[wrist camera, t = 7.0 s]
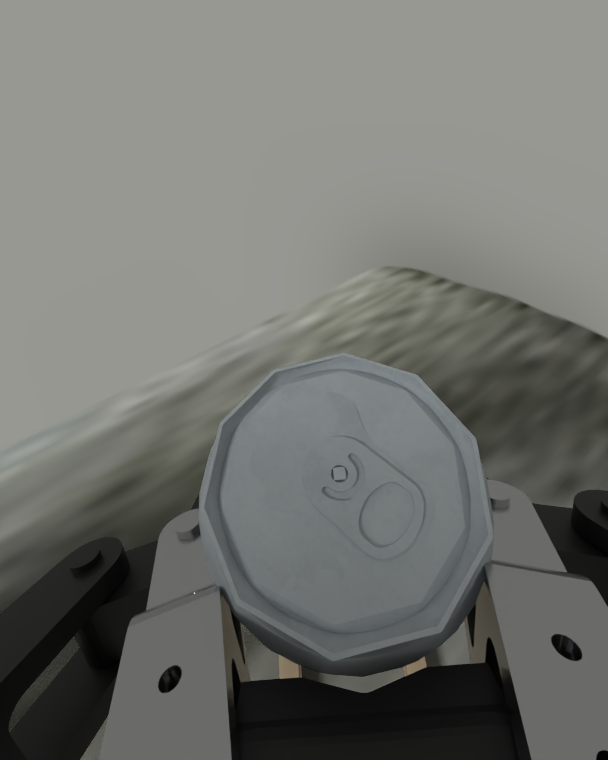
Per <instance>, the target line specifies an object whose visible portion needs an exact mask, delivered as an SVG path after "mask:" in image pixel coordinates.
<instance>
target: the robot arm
mask: <svg viewBox="0 0 608 760" xmlns="http://www.w3.org/2000/svg"><path fill="white" fill-rule="evenodd" d="M487 483H488V489H489V494H490V500H491V506H492V512H493V519H494V544H493V553H492V558H491V562H488V563H485V564H484V582H483V585H482V587H481V590H480V593H479V595H478V598H477V601H476V603H475V605H474V607H473V608H472V610H471V611H470V612H469V614H468V615H467V617H466V618H465V619H464V621H465V628H466V635H467V642H468V649H469V656H470V664H462V665H449V666H436V667H425V668H423V669H421V670H418V671H416V672H414V673H412V674H410V675H407V676H405V677H403V678H401V679H398V680H396V681H394V682H392V683H390V684H387V685H385V686H383V687H381V688H378V689H376V690H374V691H372V692H369V693H359V692H355V691H351V690H347V689H343V688H339V687H336V686H332V685H328V684H324V683H320V682H316V681H313V680H309V679H305V678H301V677H297V678H284V679H272V680H259V681H250V677H249V670H248V662H247V655H246V647H245V640H244V632H243V625H242V623H241V622H240V621H239V620H238V619H237V618H236V617H235V615H234V614H233V612H232V610H231V609H230V607H229V605H228V604H227V602H226V600H225V599H224V597H223V595H222V593H221V591H220V586H217V585H216V584H215V582H214V580H213V578H212V576H211V573H210V569H209V566H208V562H207V559H206V555H205V551H204V547H203V542H202V538H201V533H200V526H199V495H198V497H197V499H196V501H195V503H194V505H193V507H192V509H191V510H190V511H187V512H184V513H182V514H180V515H179V516H177V517H175V518H174V519H173V520H171V521H170V522H169V523H168V524H167V525H166V526H165V527H164V528H163V530H162V531H161V533H160V535H159V539H158V541H155V542H153V543H150V544H147V545H144V546H141V547H138V548H135V549H132V550H129V551H126V552H125V551H124V548H123V545H122V543H121V541H120V540H119V539H117V538H111V537H108V538H102V539H98V540H95V541H92V542H90V543H87V544H85V545H83V546H81V547H80V548H78V549H76V550H75V551H73V552H72V553H71V554H69V555H68V556H67V557H65V558H64V559H63V560H62V561H61V562H60V563H58V564H57V565H56V566H55V567H54V568H53V569H52V570H50V571H49V572H48V573H47V574H46V575H45V576H44V577H42V578H41V579H40V580H39V581H38V582H37V583H35V584H34V585H33V586H32V587H31V588H30V589H29V590H27V591H26V592H25V593H24V594H23V595H22V596H21V597H19V598H18V599H17V600H16V601H15V602H14V603H12V604H11V605H10V606H9V607H8V608H7V609H6V610H4V611H3V612H2V613H1V614H0V760H80V759H81V757H82V756H83V754H84V752H85V751H86V749H87V748H88V746H89V744H90V743H91V741H92V740H93V738H94V737H95V735H96V733H97V732H98V730H99V729H100V727H101V726H102V724H103V722H104V721H105V719H106V718H107V716H108V719H107V724H106V728H105V733H104V737H103V742H102V746H101V751H100V755H99V760H608V491H603V490H586V491H582V492H580V493H578V494H577V495H576V496H575V498H574V503H573V508H565V507H556V506H548V505H540V504H533V503H531V501H530V500H529V498H528V497H527V496H526V495H525V494H524V493H523V492H521V491H520V490H518V489H517V488H515V487H513V486H511V485H509V484H506V483H503V482H500V481H495V480H489V479H488V478H487ZM73 636H74V637H75V639H76V641H77V643H78V645H79V647H80V648H79V650H78V651H77V652H76V653H75V655H74V656H73V657H72V658H71V659H70V661H69V662H68V663H67V664H66V665H65V667H64V668H63V669H62V670H61V671H60V673H59V674H58V675H57V676H56V677H55V679H54V680H53V681H52V682H51V683H50V685H49V686H48V687H47V688H46V690H45V691H44V692H43V693H42V694H41V696H40V697H39V698H38V699H37V700H36V702H35V703H34V704H33V705H32V706H31V708H30V709H29V710H28V711H27V712H26V714H25V715H24V716H23V717H22V719H21V720H20V721H19V722H18V723H17V725H16V726H15V727H14V728H13V729H12V731H11V732H10V733H9V729H8V727H9V721H10V717H11V715H12V712H13V710H14V708H15V706H16V704H17V703H18V701H19V699H20V698H21V697H22V695H23V694H24V693H25V691H26V690H27V689H28V688H29V687H30V686H31V684H32V683H33V682H34V681H35V680H36V679H37V678H38V676H39V675H40V674H41V673H42V672H43V671H44V670H45V668H46V667H47V666H48V665H49V664H50V663H51V662H52V660H53V659H54V658H55V657H56V656H57V655H58V654H59V652H60V651H61V650H62V649H63V648H64V647H65V645H66V644H67V643H68V642H69V641H70V640H71V639H72V637H73Z"/></svg>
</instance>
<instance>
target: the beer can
mask: <svg viewBox="0 0 608 760" xmlns="http://www.w3.org/2000/svg"><path fill="white" fill-rule="evenodd" d="M199 526H200V533H201V538H202V542H203V547H204V551H205V555H206V559H207V562H208V566H209V569H210V573H211V576H212V578H213V580H214V582H215V584H216V585H217V586H220V591H221V593H222V595H223V597H224V599H225V600H226V602H227V604H228V605H229V607H230V609H231V610H232V612H233V614H234V615H235V617H236V618H237V619H238V620H239V621H240V622H241V623H242V624H243V625H244V626H245V627H246V628H247V629H248V630H249V631H250V632H251V633H252V634H254V635H255V636H256V637H257V638H258V639H259V640H260V641H261V642H262V643H263V644H264V645H265V646H266V647H267V648H269V649H270V650H271V651H273V652H275V653H277V654H279V655H281V656H283V657H285V658H286V659H288V660H290V661H292V662H294V663H296V664H298V665H301V666H304V667H306V668H309V669H311V670H314V671H316V672H321V673H327V674H334V675H347V676H360V677H363V676H368V675H372V674H376V673H380V672H384V671H388V670H392V669H396V668H401V667H404V666H406V665H409V664H411V663H414V662H417V661H419V660H420V659H421V658H423V657H424V656H426V655H427V654H429V653H430V652H432V651H433V650H435V649H436V648H437V647H439V646H440V645H442V644H443V643H444V642H445V641H446V640H447V639H448V638H449V637H450V636H451V635H453V634H454V633H455V632H456V631H457V629H458V628H459V626H460V625H461V624H462V622H463V621H464V619H465V618H466V617H467V615H468V614H469V612H470V611H471V610H472V608H473V607H474V605H475V603H476V601H477V598H478V595H479V593H480V590H481V587H482V585H483V582H484V564H485V563H488V562H491V558H492V553H493V544H494V519H493V512H492V506H491V500H490V494H489V489H488V483H487V477H486V472H485V470H484V467H483V465H482V462H481V460H480V457H479V451H478V446H477V440H476V438H475V437H474V436H473V434H472V433H471V432H470V431H469V430H468V429H467V428H466V427H465V426H464V425H463V424H462V423H461V422H460V420H459V419H458V418H457V417H456V416H455V415H454V414H453V413H452V412H451V411H450V410H449V409H448V408H447V406H446V405H445V404H444V403H443V402H442V401H441V400H440V399H439V398H438V397H437V396H436V395H435V394H434V392H433V391H432V390H431V389H430V388H429V387H428V386H427V385H426V384H425V383H424V382H423V381H422V380H421V378H420V377H419V376H418V375H416V374H413V373H409V372H406V371H403V370H399V369H396V368H393V367H390V366H386V365H383V364H380V363H376V362H373V361H370V360H366V359H363V358H360V357H356V356H353V355H350V354H346V353H341V354H337V355H332V356H328V357H324V358H320V359H316V360H312V361H308V362H303V363H299V364H295V365H291V366H287V367H283V368H279V369H274V370H273V371H272V372H271V373H270V374H269V375H268V376H267V377H266V378H265V379H264V380H263V381H262V382H261V383H260V384H259V385H258V386H257V387H256V388H255V389H254V390H253V391H252V392H251V393H250V394H248V395H247V396H246V397H245V398H244V400H242V401H241V402H240V403H239V404H238V405H237V406H236V407H235V408H234V409H233V410H232V411H231V412H230V413H229V414H228V415H227V416H226V417H225V418H224V419H223V420H222V421H221V422H220V424H219V428H218V432H217V436H216V439H215V442H214V444H213V446H212V448H211V451H210V454H209V458H208V461H207V465H206V469H205V473H204V477H203V481H202V485H201V489H200V493H199Z"/></svg>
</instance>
